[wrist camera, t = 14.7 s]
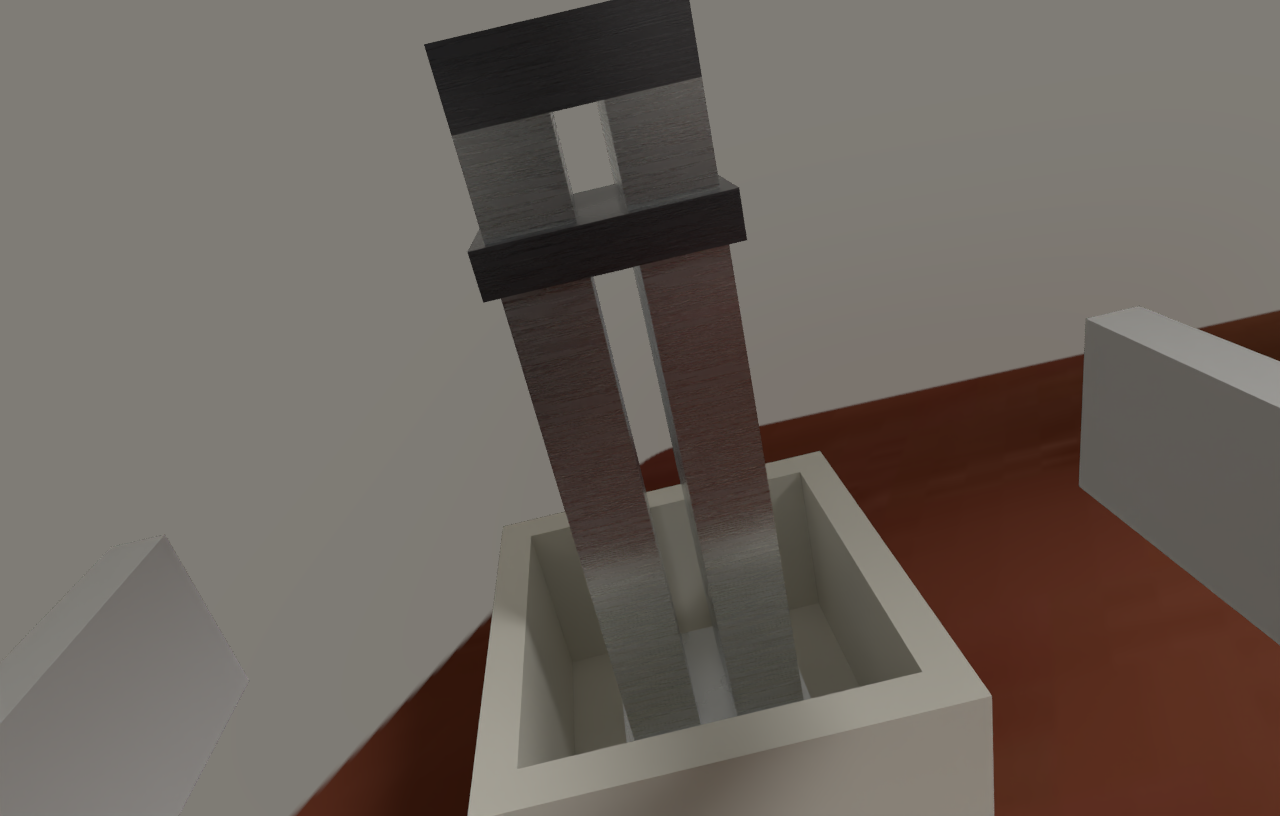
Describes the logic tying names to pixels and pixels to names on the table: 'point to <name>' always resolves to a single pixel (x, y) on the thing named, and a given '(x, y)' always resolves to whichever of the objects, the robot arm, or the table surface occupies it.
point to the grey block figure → (676, 325)
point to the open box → (748, 744)
